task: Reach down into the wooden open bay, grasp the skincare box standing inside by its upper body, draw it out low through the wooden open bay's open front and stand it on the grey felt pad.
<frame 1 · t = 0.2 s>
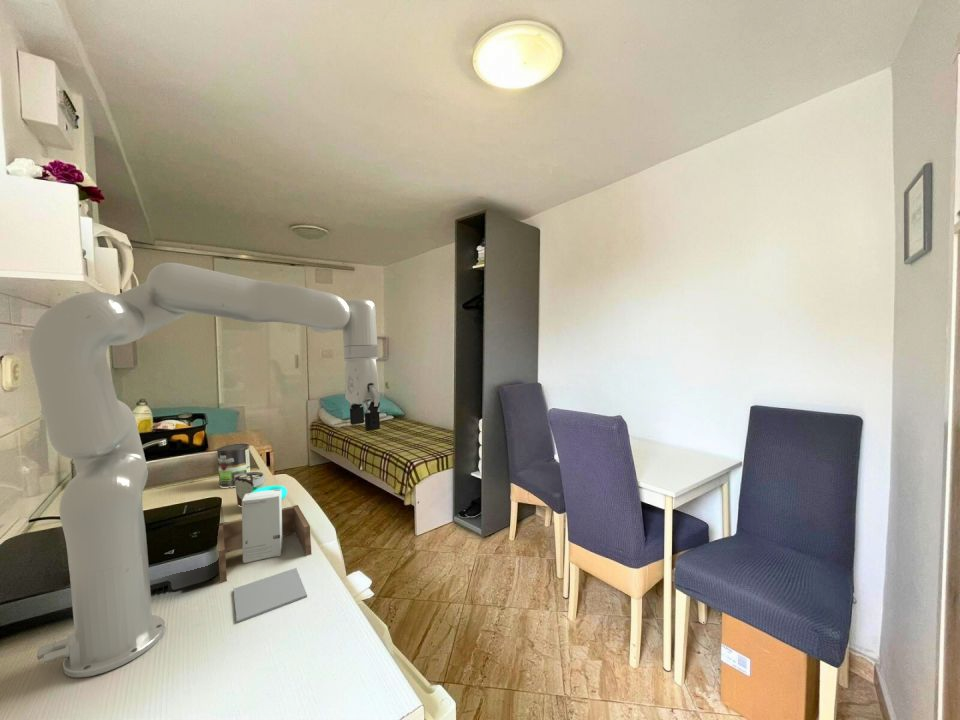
hand: (364, 426, 91), 31 cm above the worktop, fingers open, 9 cm apart
pad: (269, 593, 79), on the worktop
food container: (255, 505, 126), on the worktop
skincare box: (264, 554, 95), on the worktop
wooden open bay: (264, 553, 95), on the worktop
donuts: (269, 525, 111), on the worktop
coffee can: (235, 484, 147), on the worktop
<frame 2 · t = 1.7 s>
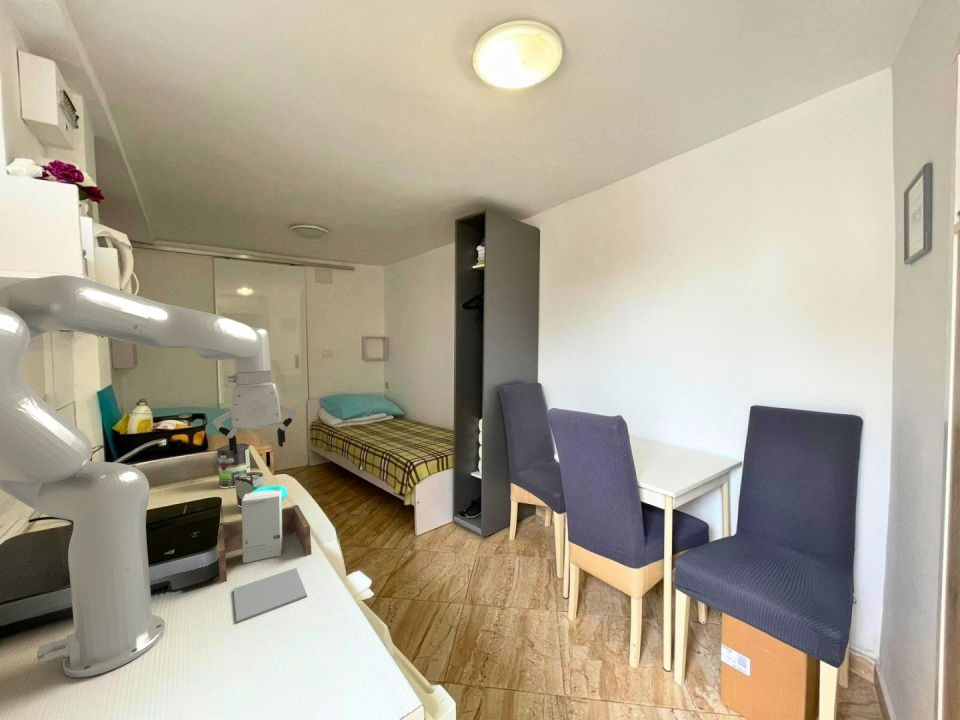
hand: (258, 449, 94), 26 cm above the worktop, fingers open, 9 cm apart
nothing on the worktop moved.
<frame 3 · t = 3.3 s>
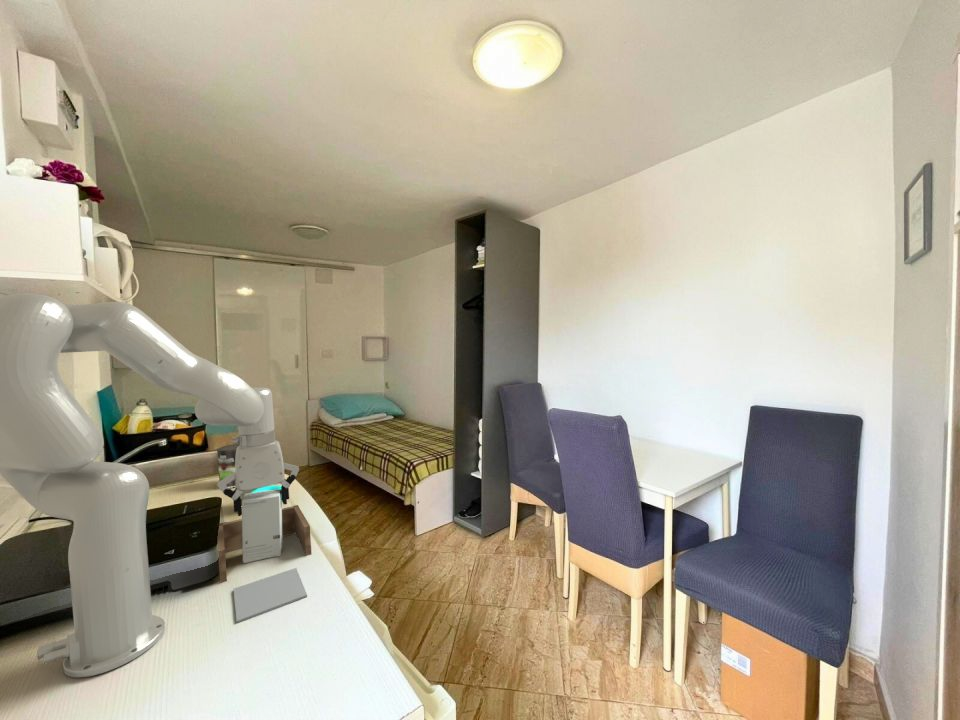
hand: (262, 508, 95), 11 cm above the worktop, fingers open, 9 cm apart
skincare box: (264, 554, 95), on the worktop, touching gripper
everything else where it was.
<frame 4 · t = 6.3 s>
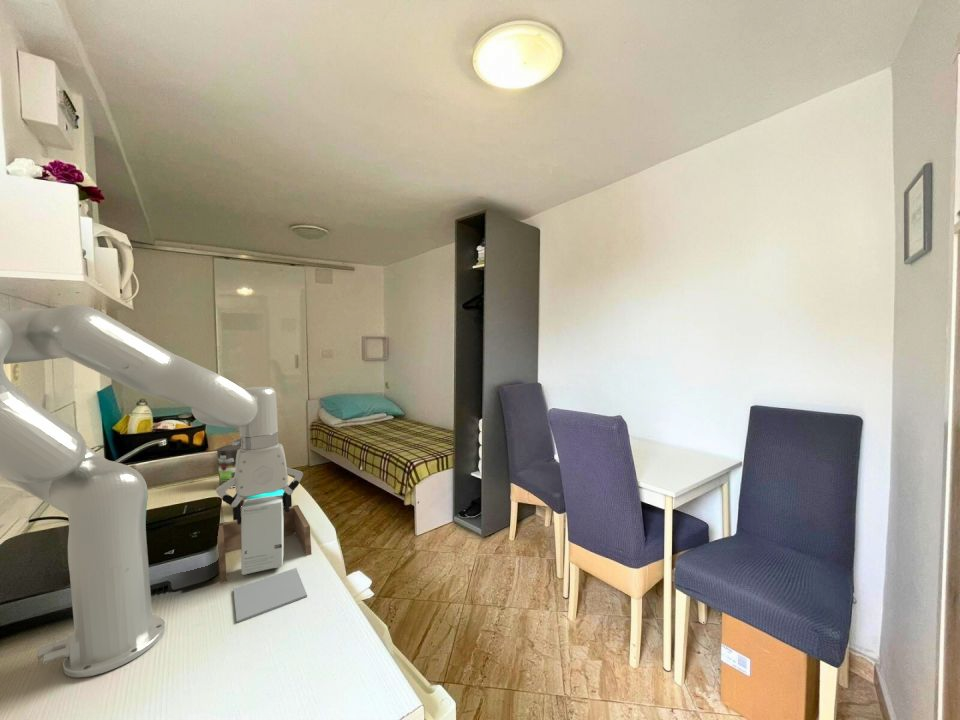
hand: (263, 516, 89), 12 cm above the worktop, fingers closed on skincare box, 9 cm apart
skincare box: (264, 565, 89), point 1 cm above the worktop, touching gripper
everything else where it was.
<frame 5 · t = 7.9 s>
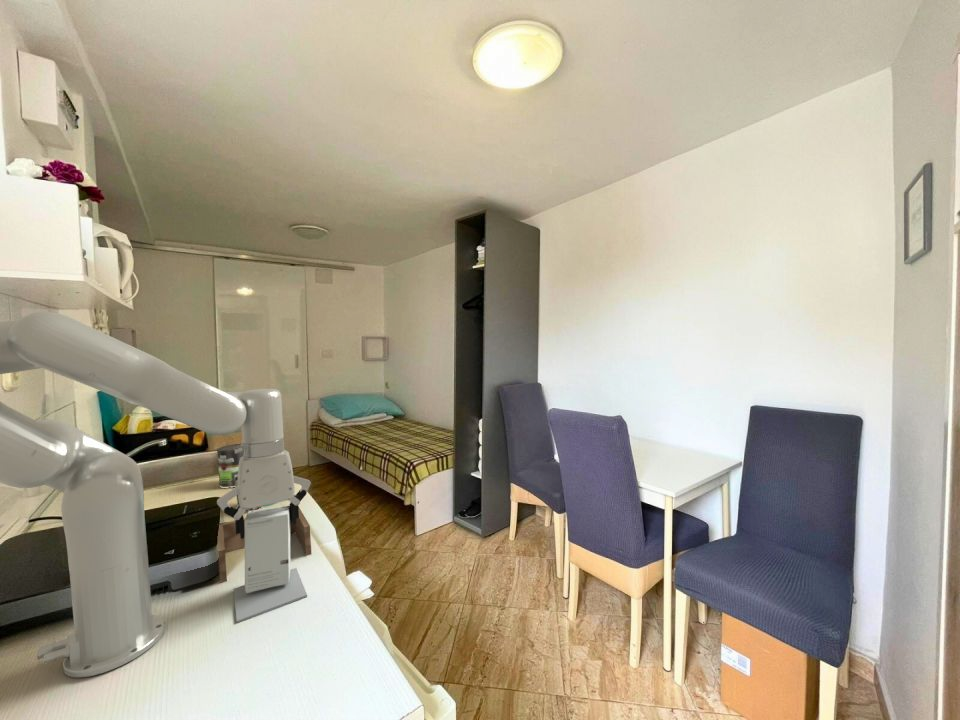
hand: (268, 528, 82), 12 cm above the worktop, fingers closed on skincare box, 9 cm apart
skincare box: (270, 582, 82), point 1 cm above the worktop, touching gripper
everything else where it was.
when the fingers open (12 cm above the worktop, at t = 9.2 s): skincare box stays where it is, resting on pad.
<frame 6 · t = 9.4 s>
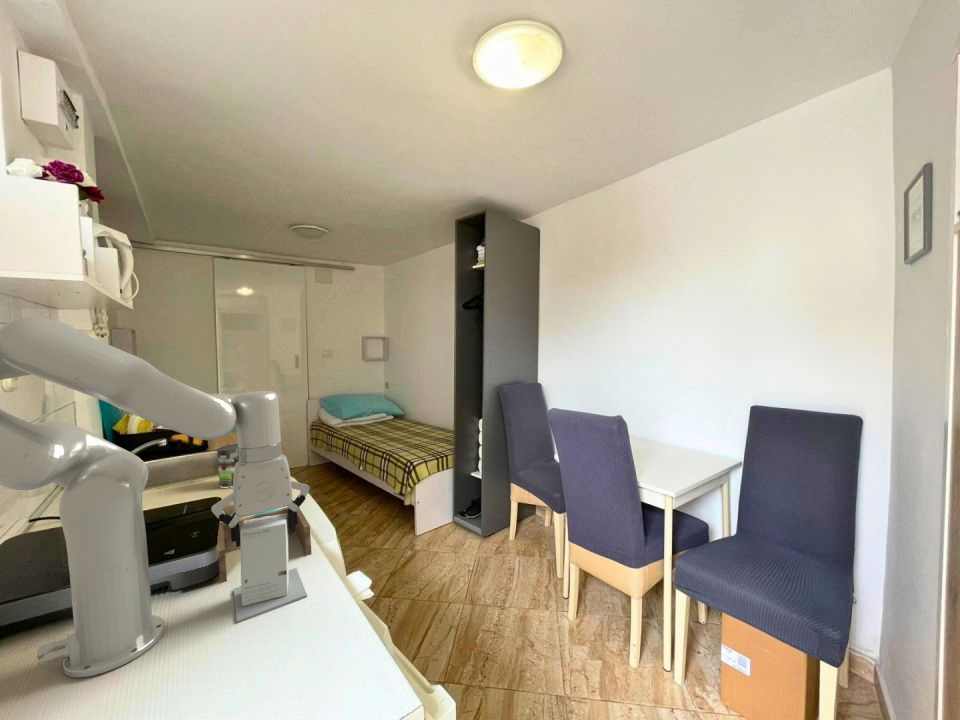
hand: (265, 536, 79), 12 cm above the worktop, fingers open, 9 cm apart
skincare box: (268, 593, 79), resting on pad, touching gripper
everything else where it was.
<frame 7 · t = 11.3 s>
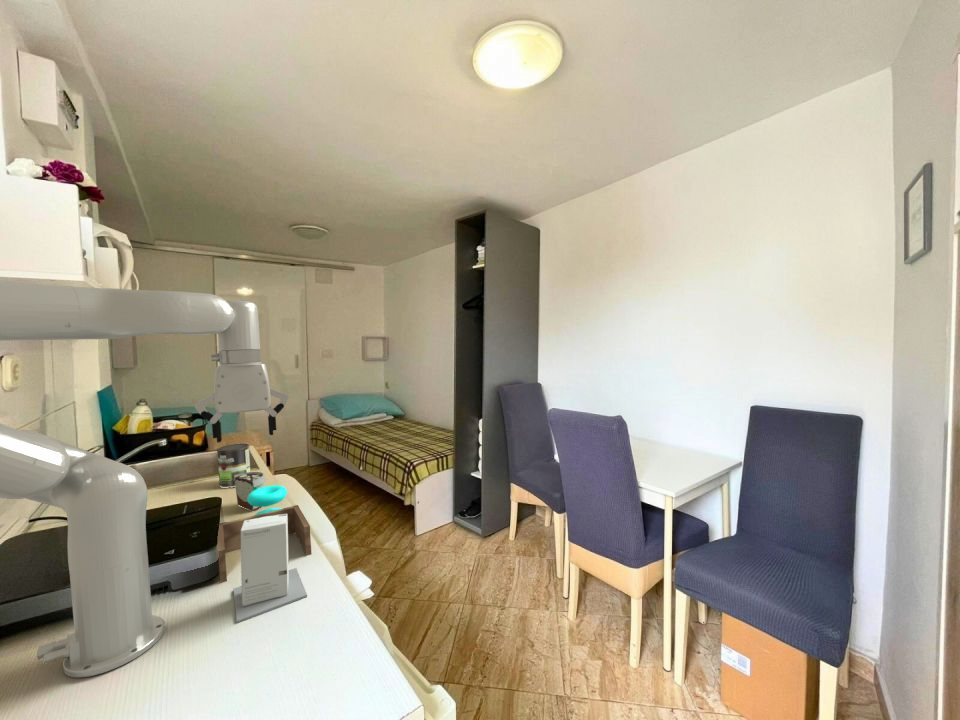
hand: (246, 437, 84), 31 cm above the worktop, fingers open, 9 cm apart
skincare box: (268, 593, 79), resting on pad
everything else where it was.
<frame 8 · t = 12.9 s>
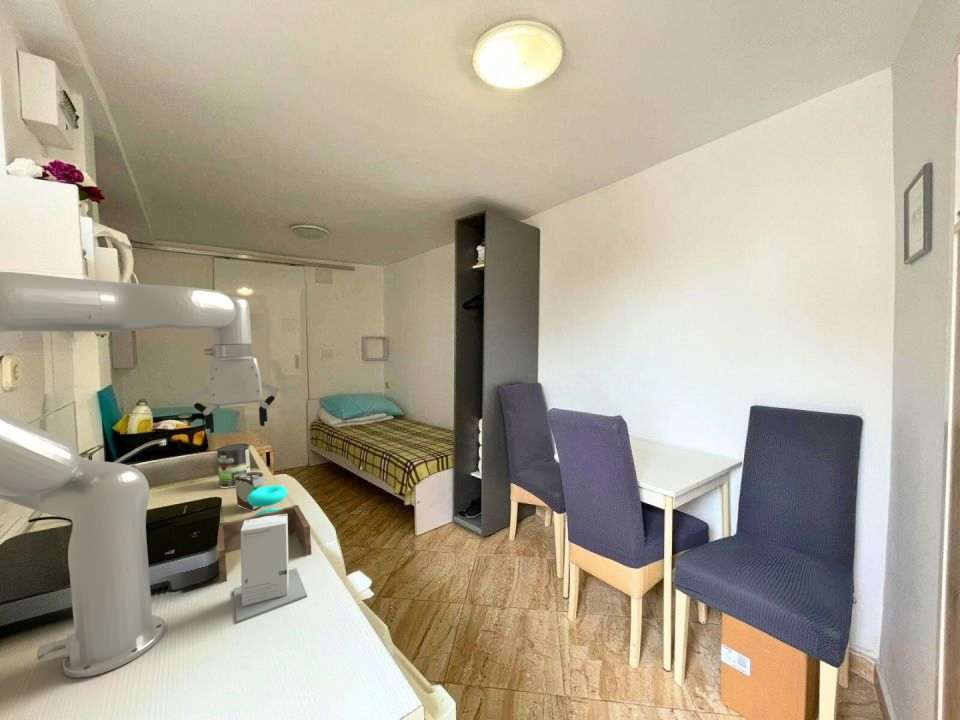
hand: (237, 428, 88), 32 cm above the worktop, fingers open, 9 cm apart
nothing on the worktop moved.
at the end: skincare box inside the target area on the pad (0.4 cm from its centre), point 0.2 cm above the pad's base; skincare box tilted 0°; the gripper is holding nothing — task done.
